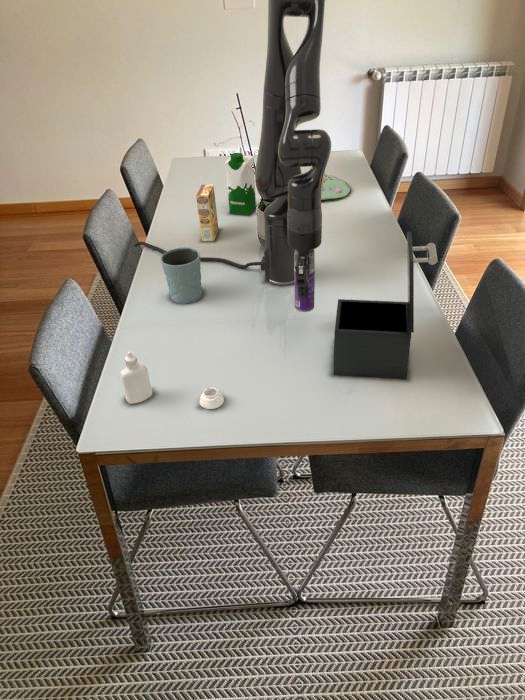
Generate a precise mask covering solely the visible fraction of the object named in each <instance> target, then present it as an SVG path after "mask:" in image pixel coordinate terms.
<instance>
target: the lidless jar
mask: <svg viewBox="0 0 525 700" xmlns="http://www.w3.org/2000/svg"><path fill="white" fill-rule="evenodd" d="M224 401H225V399H224V395H223V394H222V393H221V392H220V391H219V390H218V388H216V387H214V386H210V387H206V388H205V389H204V390H203V391H202V394H201V395H200V397H199V405H200V406H201V407H202V408H203V409H207V410H214V409H217V408H219V407H221V406H222V405H223V403H224Z"/></svg>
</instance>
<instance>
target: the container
mask: <svg viewBox="0 0 525 700" xmlns="http://www.w3.org/2000/svg"><path fill="white" fill-rule="evenodd" d="M295 254H296V255H297V256H298V251H297V250H295ZM312 254H313V260H312V262H311V273H310V275H309V280H308V281H309V283H308V297H307V298H299V297H298V286H296V273H295V267H296V262H295V257H294V283H293V284H294V285H293V286H294V289H293V291H294V292H293V293H294V294H293V295H294V309H295V310H296V311H297V312H301V313H309V312H311V311H313V310H314V308H315V284H316V283H315V277H316V272H315V271H316V265H315V263H316V261H315V260H316V259H315V258H316V257H315V255H316V254H315V249H313V250H309V254H308V257H310V256H311V255H312ZM308 268H309V260H308ZM307 271H308V269H307Z"/></svg>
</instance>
